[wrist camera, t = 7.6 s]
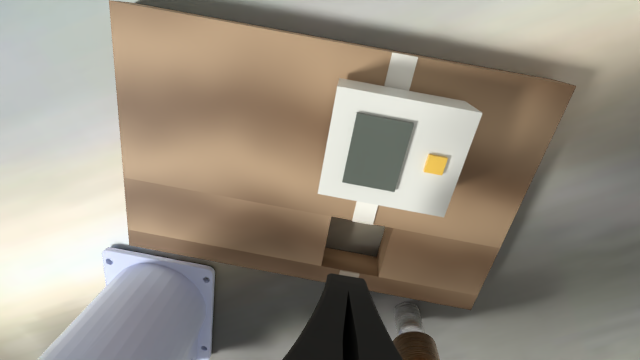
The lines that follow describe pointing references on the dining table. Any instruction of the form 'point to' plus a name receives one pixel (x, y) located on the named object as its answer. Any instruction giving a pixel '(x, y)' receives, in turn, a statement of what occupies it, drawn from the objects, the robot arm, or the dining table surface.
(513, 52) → the dining table surface
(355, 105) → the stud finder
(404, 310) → the brown translucent cylinder
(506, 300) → the dining table surface
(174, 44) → the board
